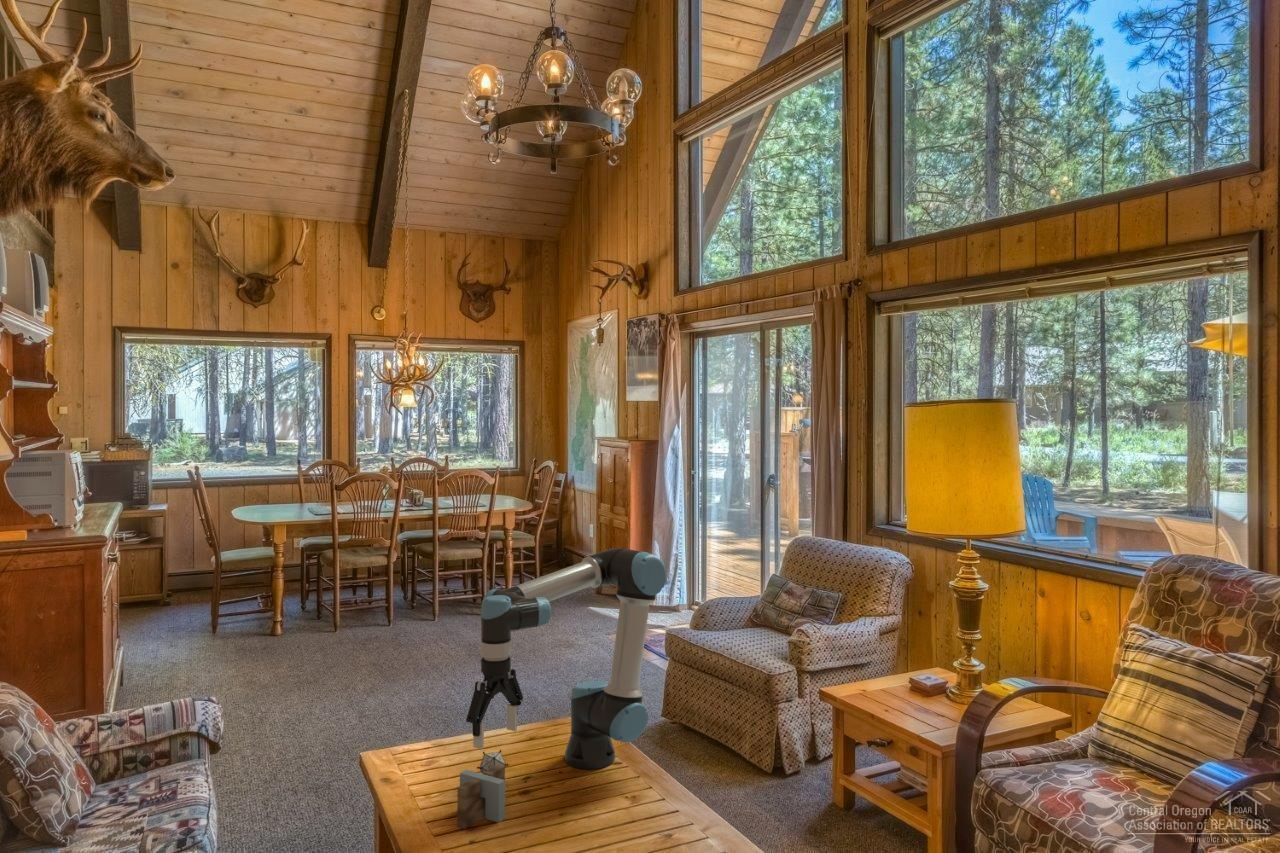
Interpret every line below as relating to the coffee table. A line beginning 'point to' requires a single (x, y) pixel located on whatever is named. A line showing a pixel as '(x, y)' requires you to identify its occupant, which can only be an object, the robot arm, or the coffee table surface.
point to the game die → (491, 761)
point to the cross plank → (489, 793)
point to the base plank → (474, 798)
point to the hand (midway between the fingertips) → (495, 738)
